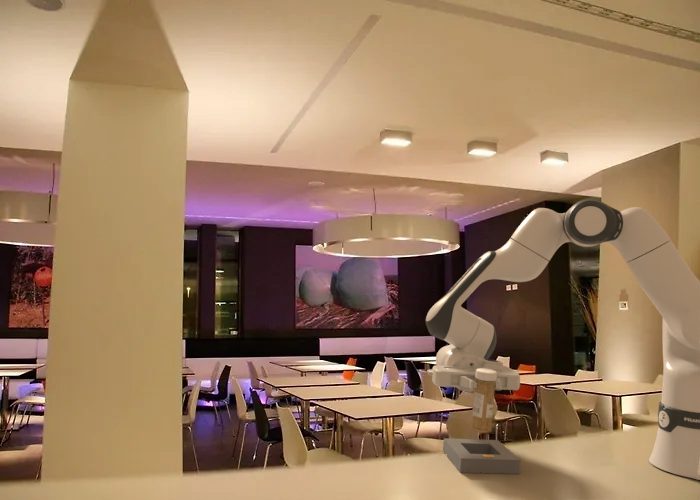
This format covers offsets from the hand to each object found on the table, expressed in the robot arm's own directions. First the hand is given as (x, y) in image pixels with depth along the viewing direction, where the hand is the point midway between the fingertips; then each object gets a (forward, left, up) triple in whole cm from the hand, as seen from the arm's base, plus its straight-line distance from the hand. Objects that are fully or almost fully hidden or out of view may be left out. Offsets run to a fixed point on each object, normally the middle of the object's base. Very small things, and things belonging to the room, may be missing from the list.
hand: (486, 386), depth 133 cm
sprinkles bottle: (0, -1, -10) cm, 10 cm away
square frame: (0, -1, -17) cm, 17 cm away
